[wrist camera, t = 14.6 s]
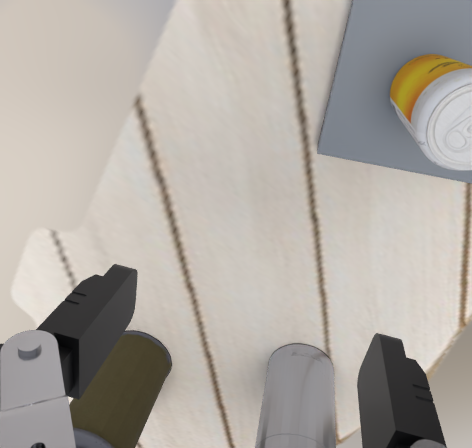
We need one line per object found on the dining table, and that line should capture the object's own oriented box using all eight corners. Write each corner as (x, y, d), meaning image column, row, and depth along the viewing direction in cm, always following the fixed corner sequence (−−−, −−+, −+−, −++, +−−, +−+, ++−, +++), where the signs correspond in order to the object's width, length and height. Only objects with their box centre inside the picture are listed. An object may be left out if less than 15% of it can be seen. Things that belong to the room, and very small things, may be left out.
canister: (103, 326, 63) (17, 445, 46) (168, 334, 61) (105, 460, 44) (114, 379, 68) (40, 505, 50) (175, 387, 66) (120, 521, 48)
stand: (469, 174, 43) (479, 184, 41) (317, 145, 45) (317, 153, 43) (543, 3, 36) (560, 1, 33) (358, -25, 38) (360, -28, 35)
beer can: (474, 90, 37) (554, 131, 24) (414, 135, 40) (457, 194, 27) (433, 37, 36) (494, 51, 23) (375, 87, 39) (399, 125, 26)
